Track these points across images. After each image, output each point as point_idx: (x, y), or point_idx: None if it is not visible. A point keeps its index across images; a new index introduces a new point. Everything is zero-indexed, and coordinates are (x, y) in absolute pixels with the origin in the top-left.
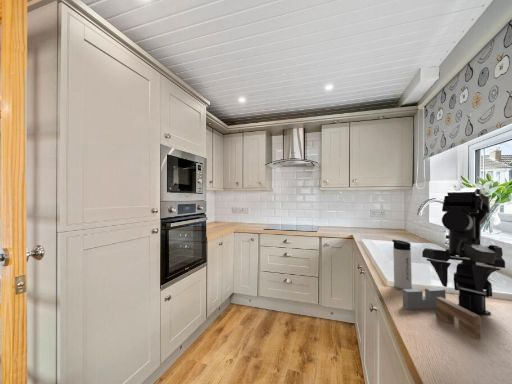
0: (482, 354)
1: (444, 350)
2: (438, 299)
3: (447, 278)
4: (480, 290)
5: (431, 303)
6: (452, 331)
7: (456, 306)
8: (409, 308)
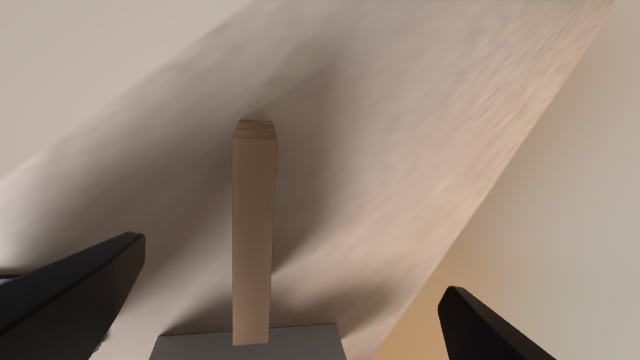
0: (344, 31)
1: (450, 81)
2: (268, 325)
3: (510, 345)
4: (136, 233)
5: (228, 348)
6: (307, 177)
7: (257, 247)
8: (330, 326)
